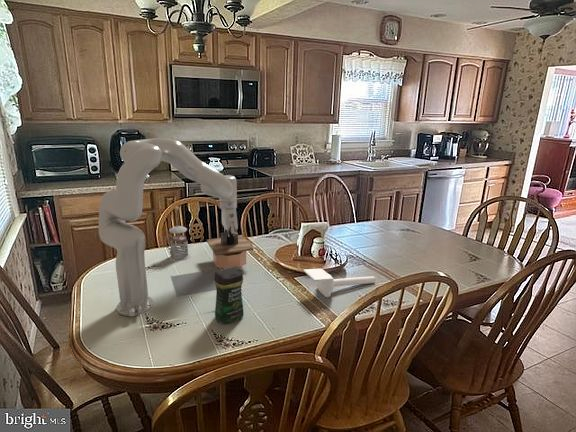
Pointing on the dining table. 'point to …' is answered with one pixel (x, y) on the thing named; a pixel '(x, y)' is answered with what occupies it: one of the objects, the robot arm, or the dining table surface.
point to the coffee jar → (229, 295)
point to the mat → (194, 282)
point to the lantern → (175, 253)
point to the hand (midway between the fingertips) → (229, 242)
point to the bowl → (230, 260)
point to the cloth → (222, 248)
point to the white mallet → (334, 280)
